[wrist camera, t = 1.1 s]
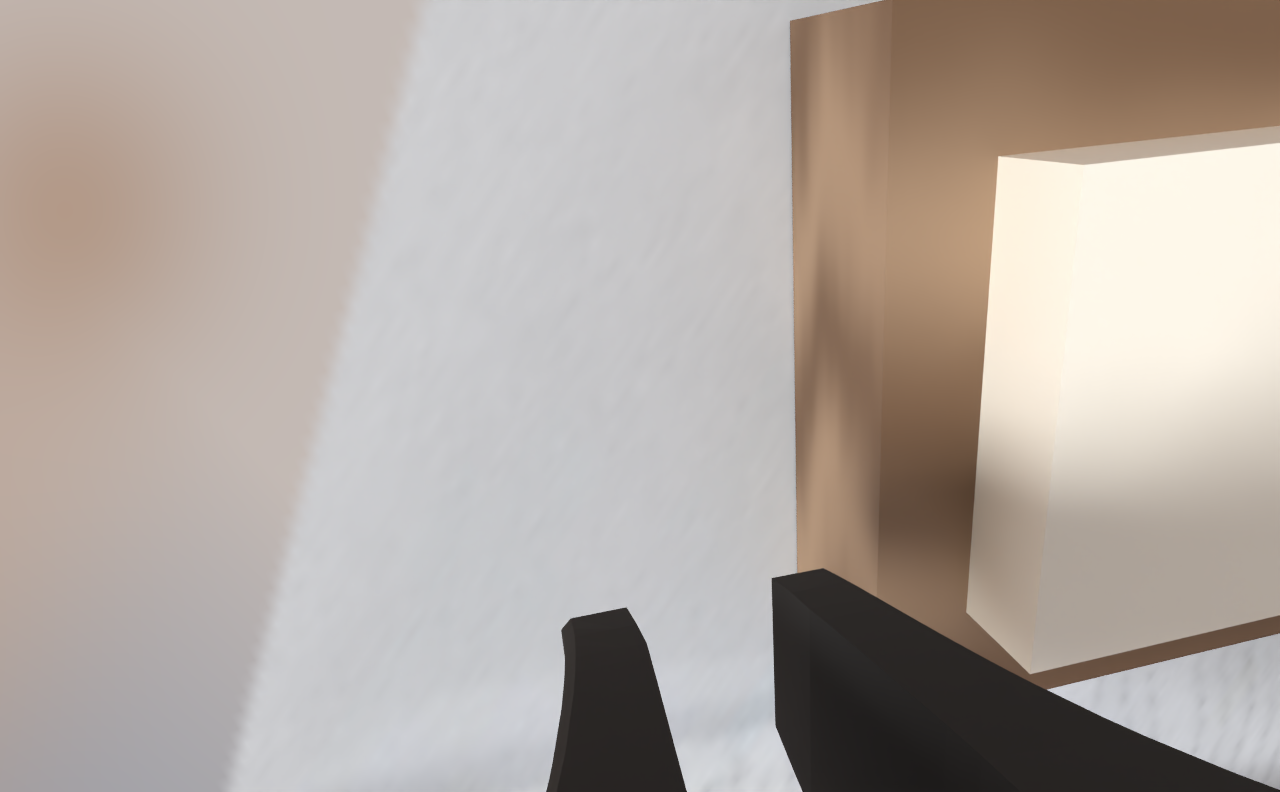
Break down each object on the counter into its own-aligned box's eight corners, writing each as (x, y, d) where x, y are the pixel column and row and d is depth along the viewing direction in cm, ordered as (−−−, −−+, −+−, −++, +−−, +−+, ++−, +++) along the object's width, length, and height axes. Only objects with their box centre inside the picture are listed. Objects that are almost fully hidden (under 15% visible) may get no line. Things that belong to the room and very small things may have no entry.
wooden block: (1199, 536, 23) (1341, 618, 20) (798, 621, 21) (873, 731, 18) (1298, -16, 19) (1512, -44, 15) (790, 20, 16) (892, -2, 13)
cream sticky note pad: (1214, 558, 18) (1302, 609, 16) (966, 612, 17) (1030, 674, 15) (1297, 123, 15) (1417, 127, 13) (998, 156, 14) (1084, 165, 12)
